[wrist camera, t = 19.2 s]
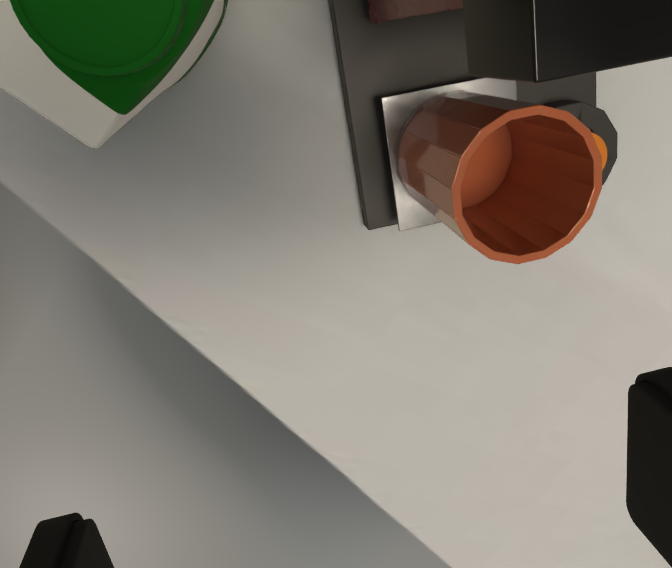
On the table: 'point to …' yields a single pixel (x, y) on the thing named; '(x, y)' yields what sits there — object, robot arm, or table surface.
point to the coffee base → (422, 73)
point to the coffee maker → (523, 55)
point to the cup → (502, 173)
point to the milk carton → (100, 56)
